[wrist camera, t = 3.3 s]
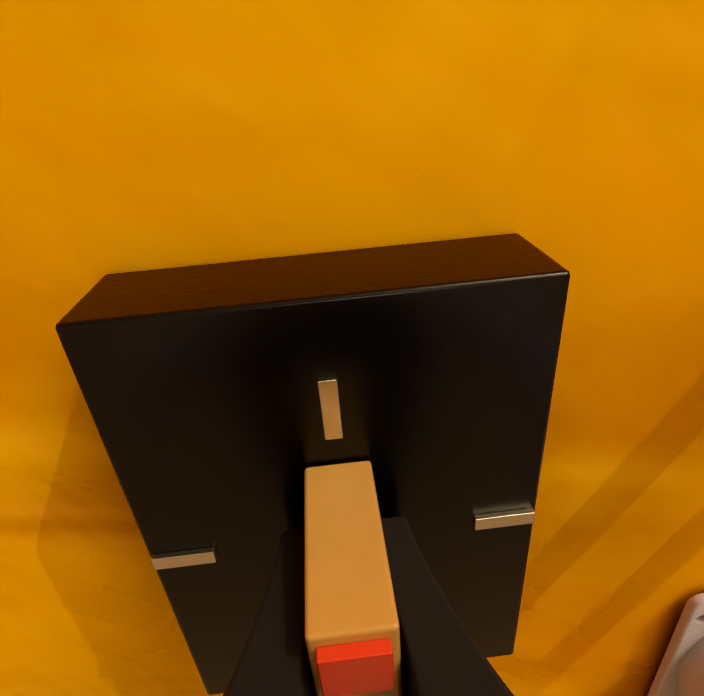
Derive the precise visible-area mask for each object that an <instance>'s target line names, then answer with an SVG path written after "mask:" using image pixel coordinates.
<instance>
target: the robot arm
mask: <svg viewBox="0 0 704 696" xmlns="http://www.w3.org/2000/svg"><path fill="white" fill-rule="evenodd" d="M381 522H382V528H383V534H384V539H385V545H386V551H387V557H388V562H389V568H390V574H391V579H392V585H393V591H394V597H395V602H396V608H397V614H398V620H399V626H400V649H401V671H402V694H403V696H514V695H513V694H512V692H511V691H510V690H509V689H508V687H507V686H506V685H505V683H504V682H503V681H502V679H501V678H500V677H499V675H498V674H497V673H496V671H495V670H494V668H493V667H492V666H491V664H490V663H489V662H488V660H487V659H486V657H485V656H484V654H483V653H482V652H481V650H480V649H479V647H478V646H477V644H476V643H475V641H474V640H473V638H472V637H471V635H470V634H469V633H468V631H467V630H466V628H465V627H464V625H463V623H462V622H461V620H460V619H459V617H458V616H457V614H456V613H455V611H454V609H453V608H452V606H451V604H450V603H449V601H448V599H447V598H446V596H445V594H444V593H443V591H442V589H441V588H440V586H439V584H438V583H437V581H436V579H435V577H434V576H433V574H432V572H431V570H430V568H429V566H428V565H427V563H426V561H425V559H424V557H423V555H422V553H421V551H420V549H419V547H418V545H417V543H416V541H415V538H414V536H413V534H412V532H411V529H410V527H409V524H408V521H407V519H405V518H404V517H394V518H385V519H381ZM223 696H317V695H316V690H315V685H314V680H313V675H312V671H311V666H310V661H309V656H308V651H307V647H306V642H305V598H304V528H303V529H295V530H287V531H284V532H283V533H282V534H281V536H280V541H279V546H278V550H277V554H276V558H275V561H274V565H273V568H272V572H271V575H270V578H269V581H268V584H267V587H266V590H265V593H264V596H263V599H262V602H261V605H260V607H259V610H258V613H257V615H256V618H255V621H254V624H253V626H252V629H251V632H250V634H249V637H248V639H247V642H246V644H245V646H244V649H243V651H242V653H241V656H240V658H239V660H238V663H237V665H236V667H235V670H234V672H233V674H232V677H231V679H230V681H229V684H228V686H227V688H226V690H225V692H224V694H223ZM647 696H704V593H699V594H696V595H694V596H692V597H691V598H689V599H688V601H687V602H686V605H685V607H684V609H683V612H682V614H681V616H680V619H679V621H678V624H677V626H676V628H675V631H674V633H673V635H672V638H671V640H670V643H669V645H668V647H667V650H666V652H665V655H664V657H663V659H662V662H661V664H660V666H659V669H658V671H657V674H656V676H655V678H654V681H653V683H652V685H651V688H650V690H649V693H648V695H647Z"/></svg>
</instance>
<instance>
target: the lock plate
mask: <svg viewBox="0 0 704 696" xmlns="http://www.w3.org/2000/svg"><path fill="white" fill-rule="evenodd" d="M569 279H570V274H569V271H568V270H566V269H565V268H564V267H562V266H561V265H560V264H558V263H557V262H556V261H554V260H553V259H552V258H550V257H549V256H547V255H546V254H545V253H543V252H542V251H541V250H539V249H538V248H537V247H535V246H534V245H533V244H531V243H530V242H529V241H527V240H526V239H525V238H523V237H522V236H520V235H519V234H516V233H515V234H505V235H495V236H485V237H475V238H465V239H456V240H446V241H436V242H426V243H416V244H406V245H396V246H386V247H376V248H366V249H356V250H346V251H336V252H326V253H316V254H307V255H297V256H287V257H277V258H267V259H257V260H247V261H237V262H227V263H217V264H207V265H197V266H187V267H177V268H167V269H158V270H148V271H138V272H128V273H118V274H108V275H105V276H104V277H103V278H102V279H101V280H100V281H99V282H98V283H97V284H96V285H95V286H94V287H93V288H92V289H91V290H90V291H89V292H88V293H87V294H86V295H85V296H84V297H83V298H82V299H81V300H80V301H79V302H78V303H77V304H76V305H75V306H74V307H73V308H72V309H71V310H70V311H69V312H68V313H67V314H66V315H65V316H64V317H63V318H62V319H61V320H60V321H59V322H58V323H57V324H56V331H57V334H58V336H59V338H60V341H61V343H62V346H63V348H64V350H65V353H66V355H67V357H68V360H69V362H70V365H71V367H72V369H73V372H74V374H75V377H76V379H77V381H78V384H79V386H80V389H81V391H82V393H83V396H84V398H85V401H86V403H87V405H88V408H89V410H90V413H91V415H92V417H93V420H94V422H95V425H96V427H97V429H98V432H99V434H100V436H101V439H102V441H103V444H104V446H105V448H106V451H107V453H108V456H109V458H110V460H111V463H112V465H113V468H114V470H115V472H116V475H117V477H118V480H119V482H120V484H121V487H122V489H123V492H124V494H125V496H126V499H127V501H128V503H129V506H130V508H131V511H132V513H133V515H134V518H135V520H136V523H137V525H138V527H139V530H140V532H141V535H142V537H143V539H144V542H145V544H146V547H147V549H148V551H149V554H150V556H151V562H152V564H153V566H154V569H155V570H156V571H157V573H158V575H159V578H160V580H161V582H162V585H163V587H164V590H165V592H166V594H167V597H168V599H169V602H170V604H171V606H172V609H173V611H174V614H175V616H176V618H177V621H178V623H179V626H180V628H181V630H182V633H183V635H184V638H185V640H186V642H187V645H188V647H189V650H190V652H191V654H192V657H193V659H194V661H195V664H196V666H197V669H198V671H199V673H200V676H201V678H202V681H203V683H204V685H205V688H206V690H207V693H208V694H210V695H212V694H220V693H224V692H225V690H226V688H227V686H228V684H229V681H230V679H231V677H232V674H233V672H234V670H235V667H236V665H237V663H238V660H239V658H240V656H241V653H242V651H243V649H244V646H245V644H246V642H247V639H248V637H249V634H250V632H251V629H252V626H253V624H254V621H255V618H256V615H257V613H258V610H259V607H260V605H261V602H262V599H263V596H264V593H265V590H266V587H267V584H268V581H269V578H270V575H271V572H272V568H273V565H274V561H275V558H276V554H277V550H278V546H279V541H280V536H281V534H282V533H283V532H284V531H287V530H295V529H303V528H304V471H305V469H306V468H308V467H316V466H324V465H333V464H342V463H350V462H359V461H370V463H371V465H372V471H373V476H374V482H375V488H376V494H377V499H378V505H379V511H380V516H381V519H385V518H394V517H404V518H405V519H407V521H408V524H409V527H410V529H411V532H412V534H413V536H414V538H415V541H416V543H417V545H418V547H419V549H420V551H421V553H422V555H423V557H424V559H425V561H426V563H427V565H428V566H429V568H430V570H431V572H432V574H433V576H434V577H435V579H436V581H437V583H438V584H439V586H440V588H441V589H442V591H443V593H444V594H445V596H446V598H447V599H448V601H449V603H450V604H451V606H452V608H453V609H454V611H455V613H456V614H457V616H458V617H459V619H460V620H461V622H462V623H463V625H464V627H465V628H466V630H467V631H468V633H469V634H470V635H471V637H472V638H473V640H474V641H475V643H476V644H477V646H478V647H479V649H480V650H481V652H482V653H483V654H484V656H485V657H486V658H488V657H495V656H503V655H510V654H512V653H513V649H514V643H515V636H516V629H517V623H518V616H519V610H520V603H521V596H522V590H523V583H524V576H525V570H526V563H527V557H528V550H529V543H530V537H531V530H532V524H533V522H534V516H535V512H534V510H535V504H536V497H537V490H538V484H539V477H540V471H541V464H542V457H543V451H544V444H545V438H546V431H547V424H548V418H549V411H550V404H551V398H552V391H553V385H554V378H555V371H556V365H557V358H558V352H559V345H560V338H561V332H562V325H563V318H564V312H565V305H566V299H567V292H568V285H569Z"/></svg>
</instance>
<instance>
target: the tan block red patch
mask: <svg viewBox="0 0 704 696" xmlns="http://www.w3.org/2000/svg"><path fill="white" fill-rule="evenodd" d="M304 598H305V642H306V647H307V651H308V656H309V661H310V666H311V671H312V675H313V680H314V685H315V690H316V695H317V696H403V694H402V671H401V649H400V626H399V620H398V614H397V608H396V602H395V597H394V591H393V585H392V579H391V574H390V568H389V562H388V557H387V551H386V545H385V539H384V534H383V528H382V522H381V516H380V511H379V505H378V499H377V494H376V488H375V482H374V476H373V471H372V465H371V463H370V461H359V462H350V463H342V464H333V465H324V466H316V467H308V468H306V469H305V471H304Z"/></svg>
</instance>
